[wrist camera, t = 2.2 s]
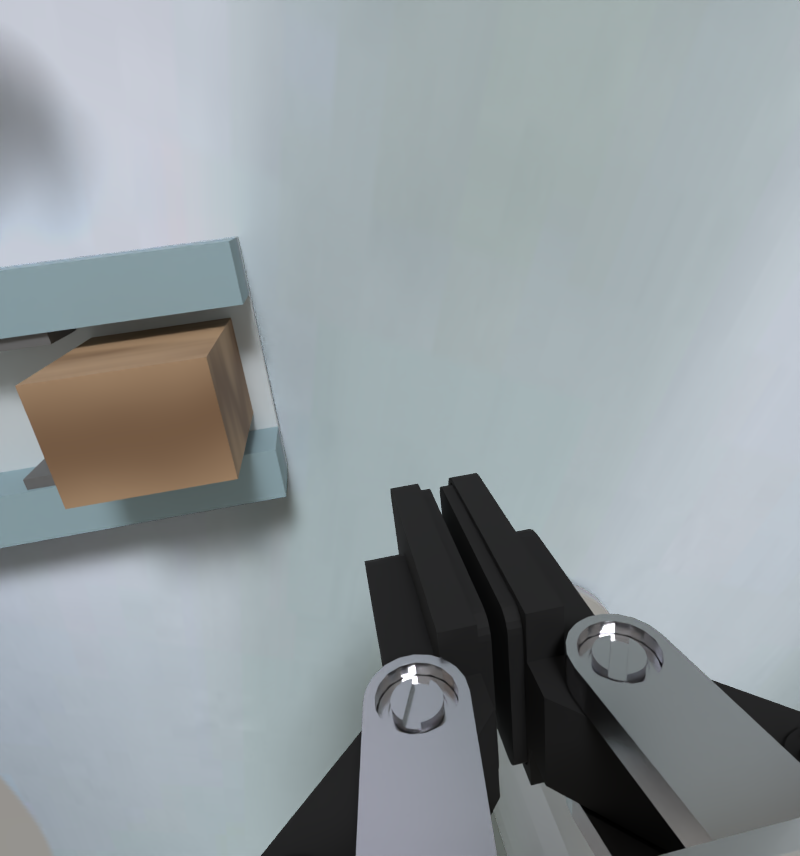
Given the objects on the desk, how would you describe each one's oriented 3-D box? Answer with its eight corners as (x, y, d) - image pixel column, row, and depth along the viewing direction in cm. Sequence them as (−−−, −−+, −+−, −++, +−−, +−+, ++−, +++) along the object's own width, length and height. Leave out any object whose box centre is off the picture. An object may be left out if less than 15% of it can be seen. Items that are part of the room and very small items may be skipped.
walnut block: (253, 412, 26) (237, 479, 20) (123, 433, 26) (65, 509, 19) (231, 317, 25) (206, 357, 18) (91, 337, 24) (14, 385, 18)
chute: (287, 465, 28) (285, 496, 25) (-68, 527, 26) (-115, 568, 23) (238, 236, 24) (228, 241, 21) (-191, 291, 22) (-269, 305, 19)
